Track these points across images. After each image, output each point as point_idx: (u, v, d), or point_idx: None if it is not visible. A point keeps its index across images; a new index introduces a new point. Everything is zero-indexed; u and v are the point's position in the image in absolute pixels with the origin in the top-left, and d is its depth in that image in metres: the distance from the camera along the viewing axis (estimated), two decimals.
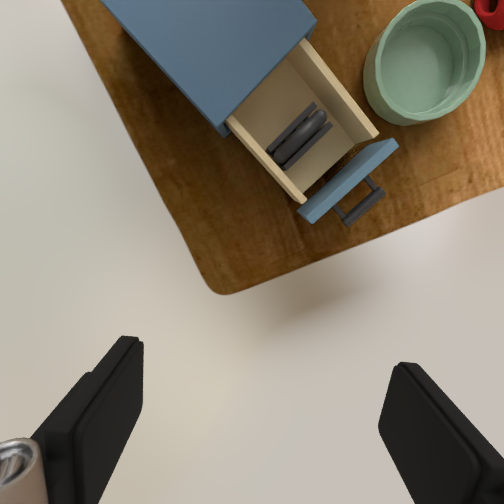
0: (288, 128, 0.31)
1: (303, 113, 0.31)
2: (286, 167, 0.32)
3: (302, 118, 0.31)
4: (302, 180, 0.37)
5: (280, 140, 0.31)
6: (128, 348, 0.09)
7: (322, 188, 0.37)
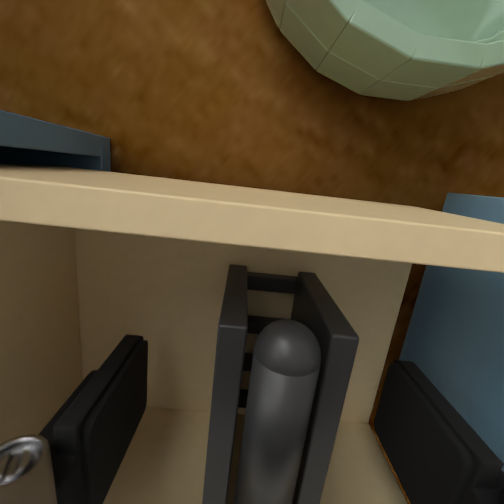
0: (214, 450, 0.08)
1: (220, 382, 0.07)
2: None
3: (231, 396, 0.07)
4: (349, 392, 0.13)
5: (221, 491, 0.08)
6: (133, 347, 0.09)
7: None
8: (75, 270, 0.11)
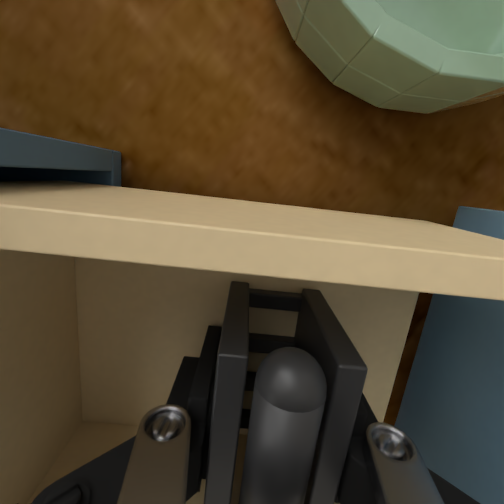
0: (213, 484, 0.07)
1: (219, 413, 0.07)
2: None
3: (231, 428, 0.07)
4: None
5: None
6: (219, 335, 0.10)
7: (422, 395, 0.12)
8: (74, 286, 0.11)
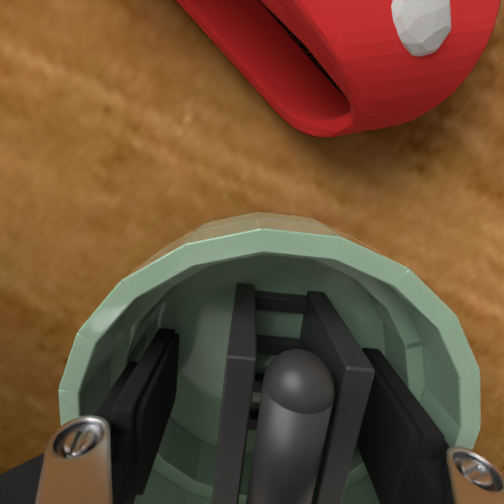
0: (220, 485, 0.07)
1: (228, 415, 0.07)
2: None
3: (239, 429, 0.07)
4: None
5: None
6: (168, 339, 0.10)
7: None
8: None
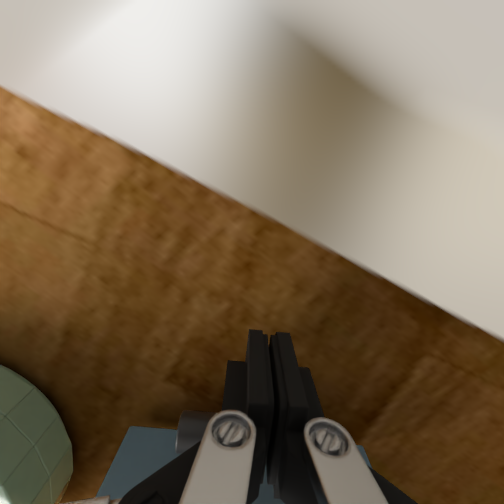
0: None
1: None
2: None
3: None
4: None
5: None
6: (262, 339, 0.10)
7: None
8: None
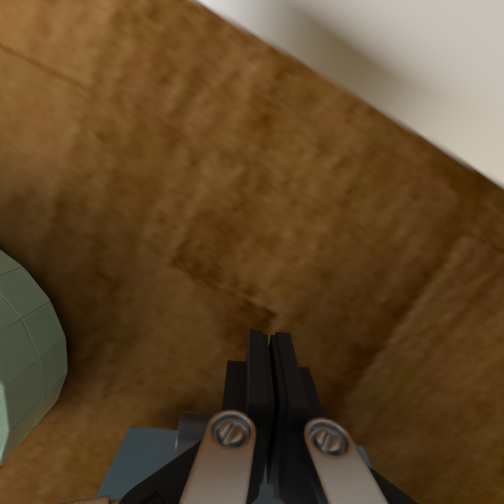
0: None
1: None
2: None
3: None
4: None
5: None
6: (262, 340, 0.10)
7: None
8: None
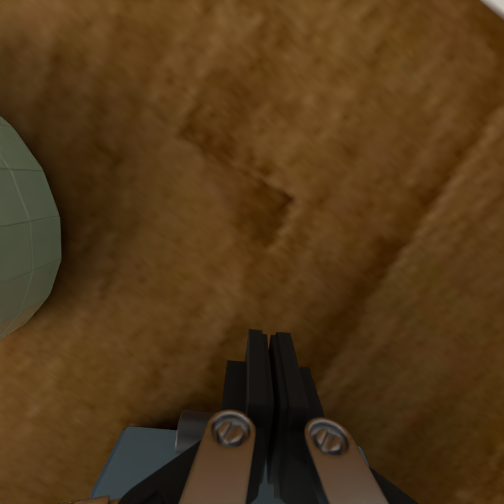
0: None
1: None
2: None
3: None
4: None
5: None
6: (262, 339, 0.10)
7: None
8: None
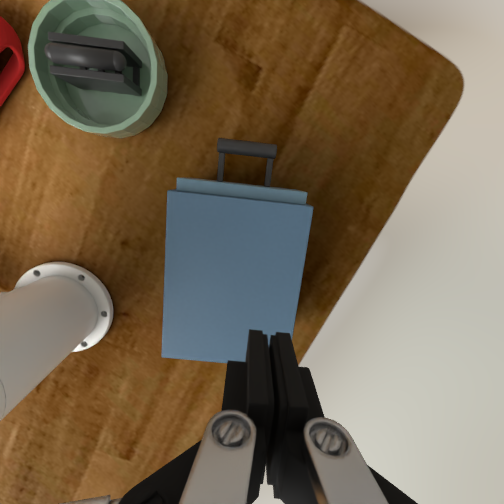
0: (90, 76, 0.26)
1: (67, 73, 0.26)
2: (121, 44, 0.26)
3: (71, 70, 0.26)
4: None
5: (106, 74, 0.26)
6: (262, 340, 0.10)
7: None
8: None
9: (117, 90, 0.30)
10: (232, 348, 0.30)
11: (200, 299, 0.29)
